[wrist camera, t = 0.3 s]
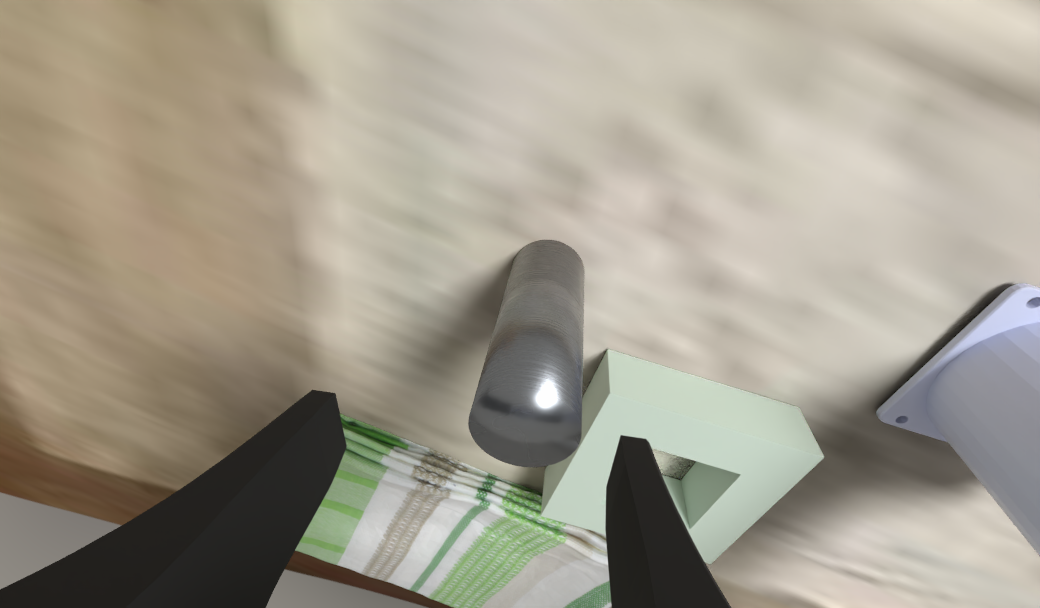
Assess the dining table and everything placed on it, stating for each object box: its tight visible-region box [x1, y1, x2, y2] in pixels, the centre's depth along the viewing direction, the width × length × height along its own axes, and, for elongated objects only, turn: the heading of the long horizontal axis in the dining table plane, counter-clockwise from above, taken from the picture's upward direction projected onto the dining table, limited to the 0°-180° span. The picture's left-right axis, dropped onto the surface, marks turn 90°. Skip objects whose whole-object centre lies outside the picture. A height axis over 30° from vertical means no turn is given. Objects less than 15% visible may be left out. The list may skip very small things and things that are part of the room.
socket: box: [541, 349, 824, 564], centre depth 24 cm, size 10×10×3 cm
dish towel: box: [295, 414, 612, 608], centre depth 32 cm, size 17×23×4 cm
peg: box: [469, 240, 584, 467], centre depth 17 cm, size 3×3×9 cm
